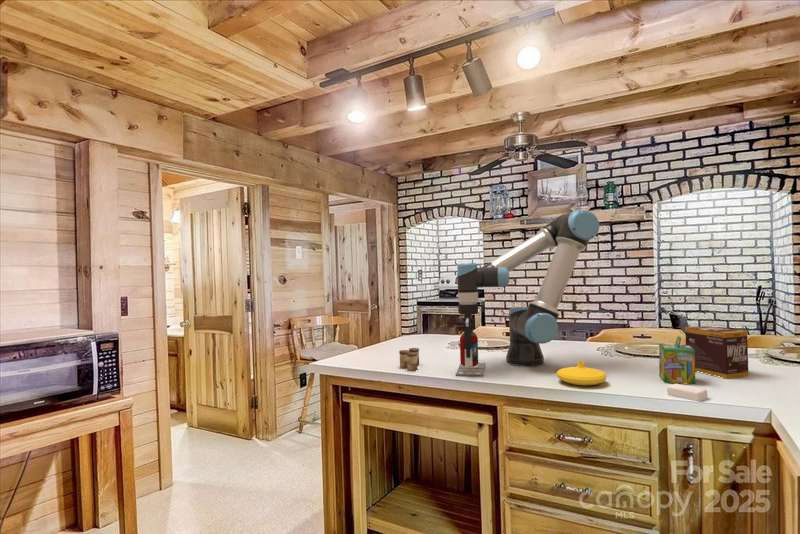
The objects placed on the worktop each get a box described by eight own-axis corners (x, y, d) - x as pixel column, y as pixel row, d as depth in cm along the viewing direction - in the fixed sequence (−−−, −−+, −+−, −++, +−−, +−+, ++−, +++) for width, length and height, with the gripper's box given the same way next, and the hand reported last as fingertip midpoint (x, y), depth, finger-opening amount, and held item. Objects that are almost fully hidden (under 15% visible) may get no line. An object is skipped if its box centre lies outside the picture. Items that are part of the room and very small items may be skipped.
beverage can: (478, 367, 163) (477, 335, 163) (459, 367, 165) (459, 335, 165) (478, 363, 170) (477, 332, 170) (461, 363, 171) (460, 332, 171)
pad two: (485, 364, 182) (485, 362, 182) (484, 369, 172) (484, 367, 172) (460, 363, 184) (460, 361, 184) (458, 369, 174) (458, 367, 174)
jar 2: (420, 364, 186) (419, 348, 186) (418, 366, 182) (417, 349, 182) (410, 363, 187) (410, 347, 187) (408, 366, 183) (408, 349, 183)
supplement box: (726, 379, 148) (725, 332, 148) (685, 369, 162) (684, 327, 162) (750, 376, 150) (748, 330, 150) (707, 367, 165) (706, 325, 165)
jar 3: (418, 369, 177) (418, 352, 177) (416, 371, 173) (416, 354, 173) (408, 368, 178) (407, 351, 178) (406, 371, 174) (405, 353, 174)
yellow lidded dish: (548, 384, 149) (547, 363, 149) (569, 375, 160) (568, 355, 160) (596, 392, 138) (595, 369, 138) (614, 382, 149) (613, 361, 149)
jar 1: (410, 366, 182) (410, 350, 182) (408, 368, 178) (408, 352, 178) (401, 366, 183) (400, 350, 183) (398, 368, 179) (398, 351, 179)
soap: (708, 399, 128) (708, 389, 128) (699, 403, 125) (699, 392, 125) (675, 392, 135) (675, 382, 135) (666, 395, 132) (666, 385, 132)
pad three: (484, 370, 171) (484, 368, 171) (482, 376, 161) (482, 374, 161) (458, 369, 173) (458, 367, 173) (455, 375, 164) (455, 373, 164)
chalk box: (659, 376, 154) (657, 334, 154) (690, 378, 150) (688, 334, 150) (663, 383, 145) (662, 338, 145) (696, 385, 142) (695, 339, 142)
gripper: (460, 301, 178) (462, 358, 178) (455, 305, 159) (456, 369, 159) (479, 301, 176) (480, 358, 176) (476, 305, 157) (478, 370, 157)
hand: (469, 363), depth 167 cm, fingers closed on beverage can, 7 cm apart
